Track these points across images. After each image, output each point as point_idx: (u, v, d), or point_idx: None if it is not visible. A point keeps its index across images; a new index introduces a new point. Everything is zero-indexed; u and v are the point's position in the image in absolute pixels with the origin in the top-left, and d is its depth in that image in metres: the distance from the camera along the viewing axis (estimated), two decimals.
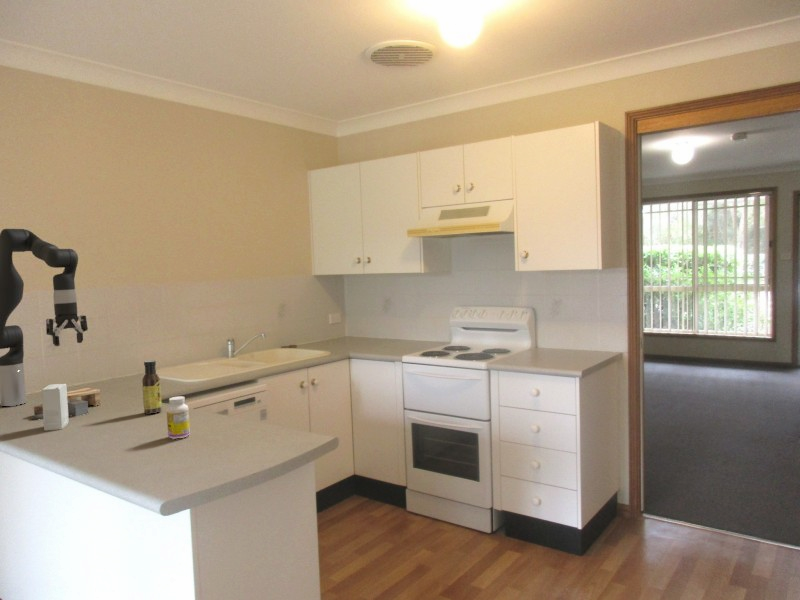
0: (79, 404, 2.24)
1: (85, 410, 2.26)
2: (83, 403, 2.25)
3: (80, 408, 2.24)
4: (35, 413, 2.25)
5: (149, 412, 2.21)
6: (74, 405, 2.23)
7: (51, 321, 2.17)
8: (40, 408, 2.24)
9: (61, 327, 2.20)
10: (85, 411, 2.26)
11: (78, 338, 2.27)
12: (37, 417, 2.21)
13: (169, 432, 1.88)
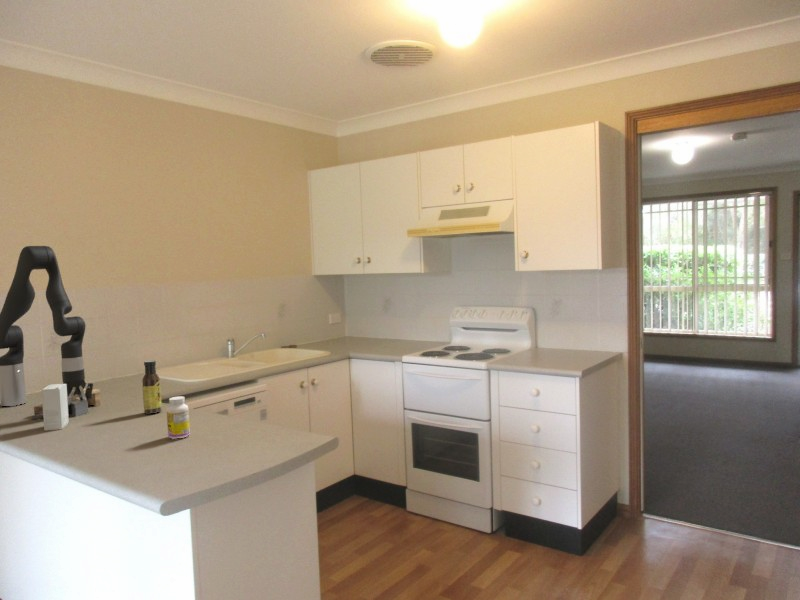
0: (79, 404, 2.24)
1: (85, 410, 2.26)
2: (83, 403, 2.25)
3: (80, 408, 2.24)
4: (35, 413, 2.25)
5: (149, 412, 2.21)
6: (74, 405, 2.23)
7: None
8: (40, 408, 2.24)
9: (71, 395, 2.24)
10: (85, 411, 2.26)
11: None
12: (37, 417, 2.21)
13: (169, 432, 1.88)
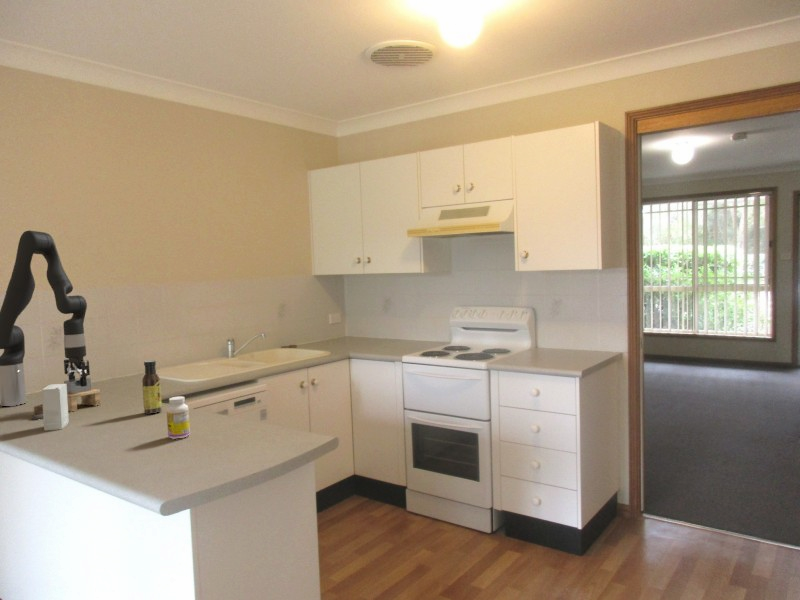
0: (66, 382, 2.35)
1: (69, 389, 2.34)
2: (68, 382, 2.34)
3: (67, 386, 2.35)
4: (35, 413, 2.25)
5: (149, 412, 2.21)
6: None
7: (64, 362, 2.39)
8: (40, 408, 2.24)
9: (68, 368, 2.37)
10: (69, 390, 2.34)
11: None
12: (37, 417, 2.21)
13: (169, 432, 1.88)
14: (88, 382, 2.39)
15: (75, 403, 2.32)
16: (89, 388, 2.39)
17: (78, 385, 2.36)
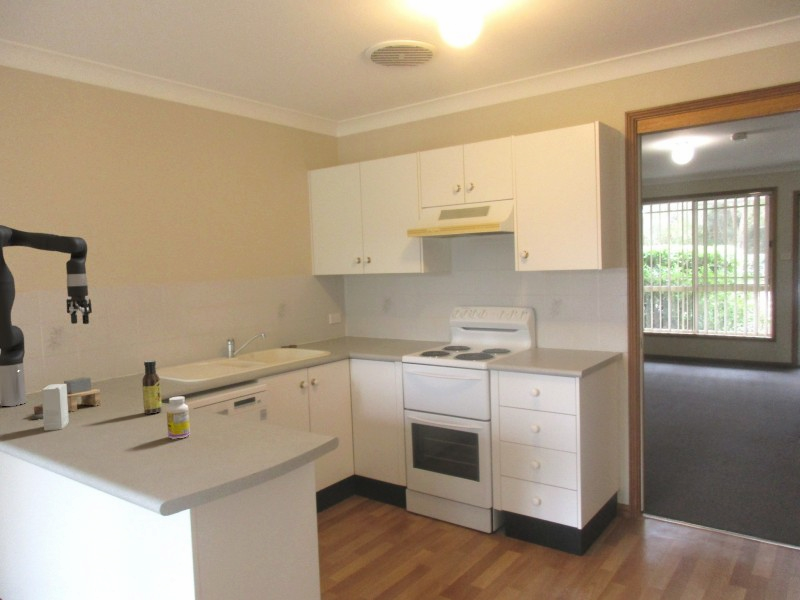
0: (66, 382, 2.35)
1: (69, 389, 2.34)
2: (68, 382, 2.34)
3: (67, 386, 2.35)
4: (35, 413, 2.25)
5: (149, 412, 2.21)
6: None
7: (67, 301, 2.48)
8: (40, 408, 2.24)
9: (70, 307, 2.46)
10: (69, 390, 2.34)
11: None
12: (37, 417, 2.21)
13: (169, 432, 1.88)
14: (88, 382, 2.39)
15: (75, 403, 2.32)
16: (89, 388, 2.39)
17: (78, 385, 2.36)
